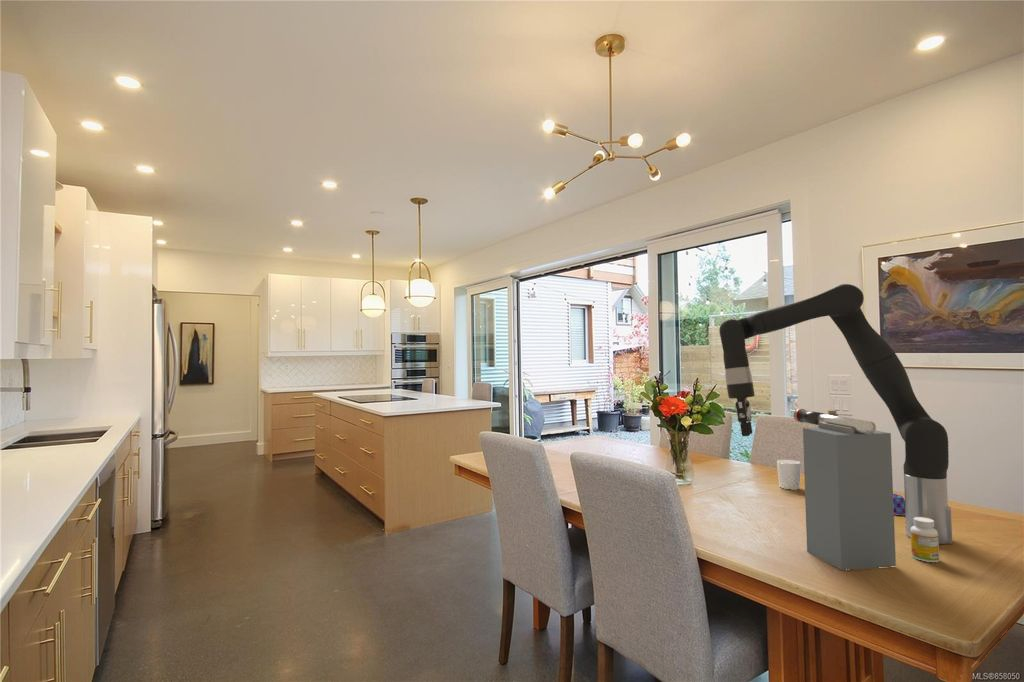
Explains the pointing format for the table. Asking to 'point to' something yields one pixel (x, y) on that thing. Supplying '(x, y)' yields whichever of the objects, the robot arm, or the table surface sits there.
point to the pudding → (898, 504)
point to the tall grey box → (849, 497)
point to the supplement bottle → (924, 540)
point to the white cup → (788, 474)
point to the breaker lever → (834, 421)
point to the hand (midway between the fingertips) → (747, 434)
